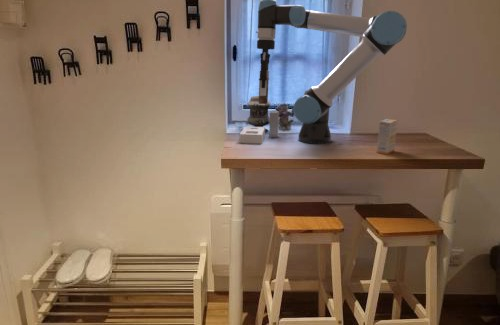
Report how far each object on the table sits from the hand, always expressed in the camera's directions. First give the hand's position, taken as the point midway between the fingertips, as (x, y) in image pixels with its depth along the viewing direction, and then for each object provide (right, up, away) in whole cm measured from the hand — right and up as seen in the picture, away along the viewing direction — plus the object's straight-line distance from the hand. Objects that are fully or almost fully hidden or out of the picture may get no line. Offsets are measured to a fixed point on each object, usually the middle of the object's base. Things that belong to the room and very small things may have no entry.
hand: (263, 94), depth 163 cm
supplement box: (+50, -26, -10) cm, 57 cm away
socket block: (-4, -19, +12) cm, 23 cm away
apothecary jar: (-1, -13, +31) cm, 34 cm away
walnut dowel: (0, -3, +1) cm, 4 cm away
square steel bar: (+6, -17, +18) cm, 25 cm away
